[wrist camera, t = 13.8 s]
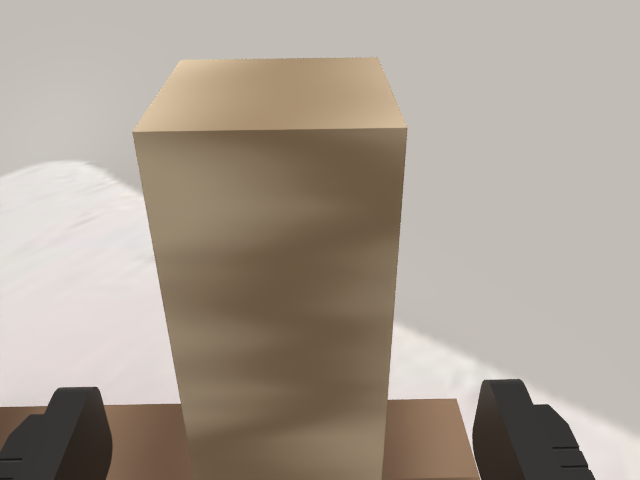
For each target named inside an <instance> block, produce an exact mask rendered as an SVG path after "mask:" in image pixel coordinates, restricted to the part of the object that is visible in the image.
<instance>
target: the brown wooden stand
mask: <svg viewBox="0 0 640 480" xmlns="http://www.w3.org/2000/svg"><path fill="white" fill-rule="evenodd" d="M104 408H105V412H106V416H107V420H108V423H109V427H110V431H111V435H112V442H113V451H112V459H111V464H110V468H109V471H108V474H107V478H106V480H195V479H194V473H193V468H192V462H191V457H190V451H189V445H188V440H187V434H186V429H185V423H184V417H183V412H182V406H181V404H142V405H104ZM46 409H47V406H35V407H0V451H1V449H2V447H3V445H4V444H5V442H6V440H7V438H8V436H9V435H10V434H11V433H12V432H13V431H14V430H15V429H16V428H17V427H18V426H19V425H20V424H21V423H22V422H23V421H24V420H25V419H26V418H27V417H28V416H29V415H30V414H44V413H45V411H46ZM382 480H480V478H479V474H478V471H477V467H476V464H475V461H474V457H473V454H472V450H471V447H470V444H469V440H468V437H467V433H466V430H465V427H464V423H463V420H462V416H461V413H460V410H459V406H458V403H457V399H410V400H387V412H386V425H385V439H384V453H383V466H382Z"/></svg>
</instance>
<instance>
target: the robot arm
mask: <svg viewBox="0 0 640 480" xmlns="http://www.w3.org/2000/svg"><path fill="white" fill-rule="evenodd" d="M472 439H473V450H474V456H475V460H476V463H477V467H478V470H479V473H480V477H481V480H595V478H594V476H593V474H592V472H591V470H589V469H588V464H587V462H586V460H585V458H584V455H583V453H582V451H580V450H579V445H578V443H577V441H576V439H575V437H574V435H573V433H572V431H571V429H570V427H569V425H568V423H567V422H566V421H565V420H564V419H563V418H562V417H561V416H560V415H559V414H558V413H557V412H556V411H555V410H554V409H553V408H552V407H551V406H550V405H549V404H542V405H533V403H532V400H531V398H530V396H529V393H528V391H527V389H526V387H525V385H524V383H523V382H522V381H521V380H520V379H505V380H484V381H483V382H482V385H481V390H480V395H479V400H478V405H477V410H476V415H475V420H474V425H473V434H472ZM112 451H113V442H112V435H111V431H110V427H109V423H108V420H107V416H106V412H105V408H104V405H103V401H102V397H101V394H100V391H99V389H98V388H97V387H63V388H58V389H57V390H56V391H55V392H54V394H53V396H52V398H51V400H50V402H49V404H48V406H47V409H46V411H45V413H44V414H30V415H29V416H28V417H27V418H26V419H25V420H24V421H23V422H22V423H21V424H20V425H19V426H18V427H17V428H16V429H15V430H14V431H13V432H12V433H11V434H10V435H9V436H8V438H7V440H6V442H5V444H4V445H3V447H2V449H1V451H0V480H106V478H107V474H108V471H109V468H110V464H111V459H112Z"/></svg>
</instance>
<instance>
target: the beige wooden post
mask: <svg viewBox="0 0 640 480" xmlns="http://www.w3.org/2000/svg"><path fill="white" fill-rule="evenodd" d="M133 137H134V144H135V149H136V155H137V160H138V166H139V172H140V177H141V182H142V188H143V194H144V200H145V205H146V211H147V216H148V222H149V228H150V233H151V239H152V244H153V250H154V255H155V261H156V267H157V272H158V278H159V283H160V289H161V295H162V300H163V306H164V311H165V317H166V323H167V328H168V334H169V339H170V345H171V350H172V356H173V362H174V367H175V373H176V378H177V384H178V390H179V395H180V401H181V406H182V412H183V417H184V423H185V429H186V434H187V440H188V445H189V451H190V457H191V462H192V468H193V473H194V479H195V480H382V466H383V453H384V439H385V425H386V412H387V398H388V385H389V371H390V358H391V344H392V330H393V317H394V303H395V290H396V275H397V262H398V249H399V236H400V222H401V208H402V194H403V181H404V167H405V154H406V140H407V125H406V123H405V121H404V119H403V116H402V114H401V111H400V109H399V107H398V104H397V102H396V99H395V97H394V95H393V92H392V90H391V87H390V85H389V83H388V80H387V78H386V76H385V73H384V71H383V68H382V66H381V64H380V61H379V59H378V58H302V59H301V58H300V59H224V60H223V59H218V60H180V62H179V63H178V65H177V66H176V68H175V69H174V71H173V72H172V74H171V75H170V77H169V78H168V80H167V81H166V83H165V84H164V86H163V87H162V88H161V90H160V91H159V93H158V94H157V96H156V98H155V99H154V100H153V102H152V103H151V105H150V106H149V108H148V109H147V111H146V112H145V114H144V115H143V117H142V118H141V120H140V121H139V123H138V124H137V126H136V127H135V129H134V130H133Z"/></svg>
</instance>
